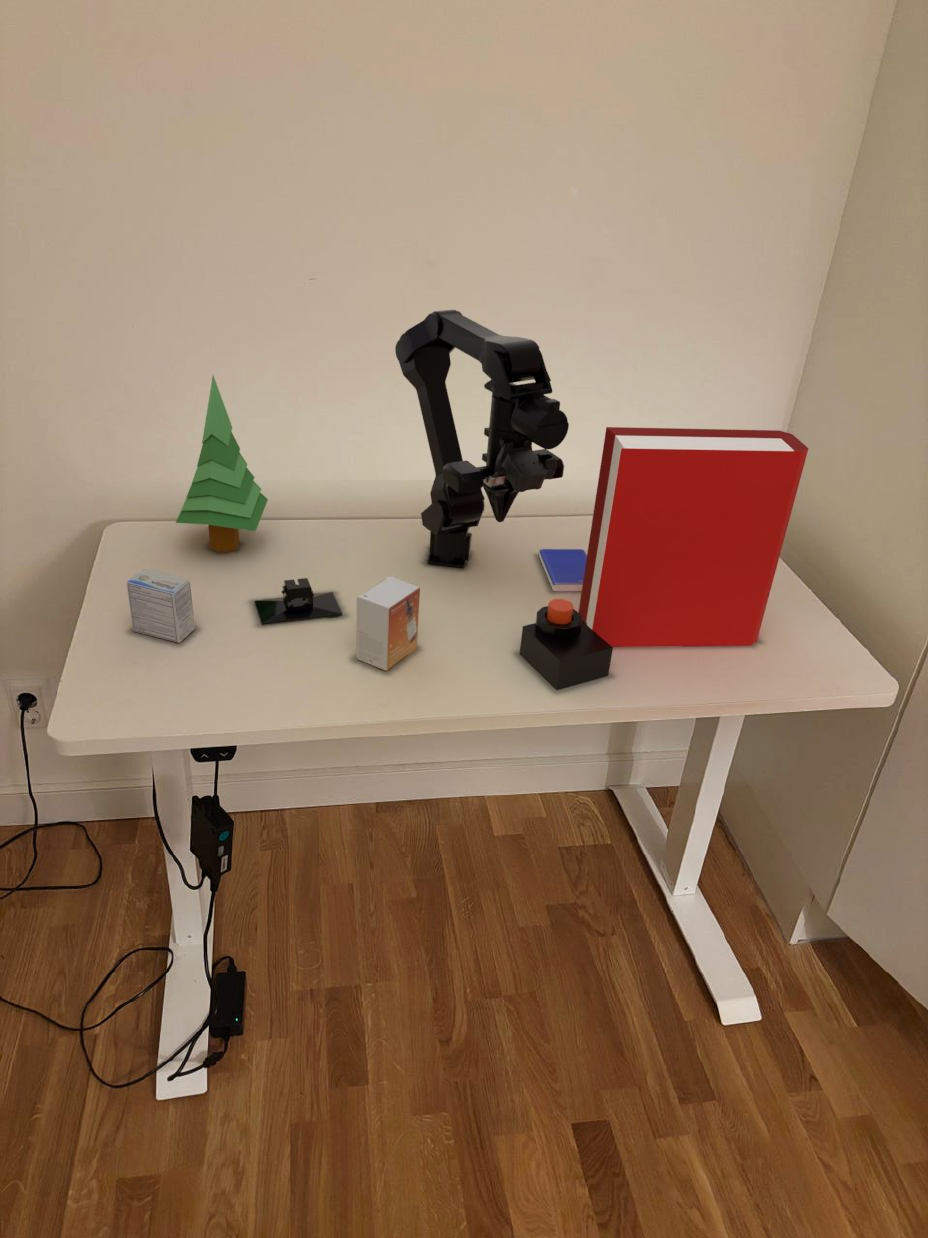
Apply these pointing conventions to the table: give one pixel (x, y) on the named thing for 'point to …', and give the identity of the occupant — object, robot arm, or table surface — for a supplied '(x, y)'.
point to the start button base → (565, 651)
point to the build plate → (297, 604)
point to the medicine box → (161, 605)
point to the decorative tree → (222, 483)
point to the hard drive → (564, 568)
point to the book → (687, 534)
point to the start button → (560, 611)
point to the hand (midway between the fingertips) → (499, 520)
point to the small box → (387, 622)
